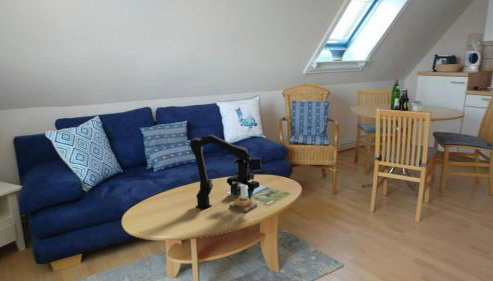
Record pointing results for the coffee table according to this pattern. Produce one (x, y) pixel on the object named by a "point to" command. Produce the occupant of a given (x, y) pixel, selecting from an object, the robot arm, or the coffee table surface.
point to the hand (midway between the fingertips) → (243, 197)
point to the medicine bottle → (239, 189)
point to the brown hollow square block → (243, 204)
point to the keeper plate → (243, 208)
